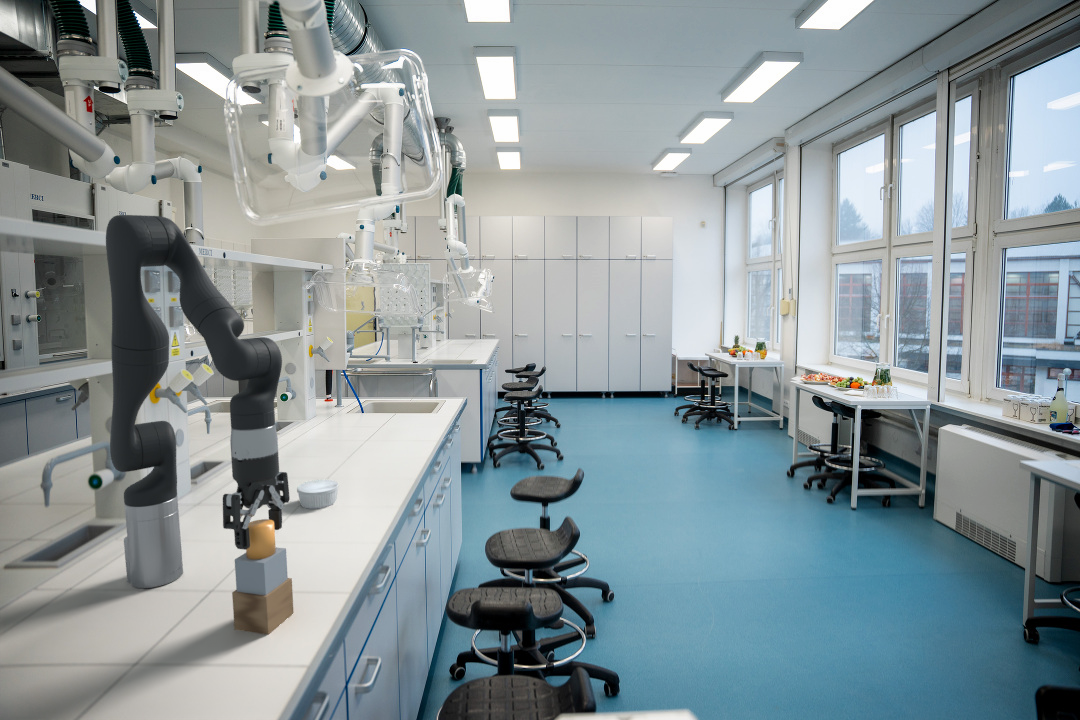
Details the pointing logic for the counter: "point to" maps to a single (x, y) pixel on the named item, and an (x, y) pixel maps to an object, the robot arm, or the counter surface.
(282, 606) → the walnut base cube
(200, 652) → the counter surface
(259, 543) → the orange rounded cylinder
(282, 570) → the grey top cube
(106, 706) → the counter surface
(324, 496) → the ramekin
